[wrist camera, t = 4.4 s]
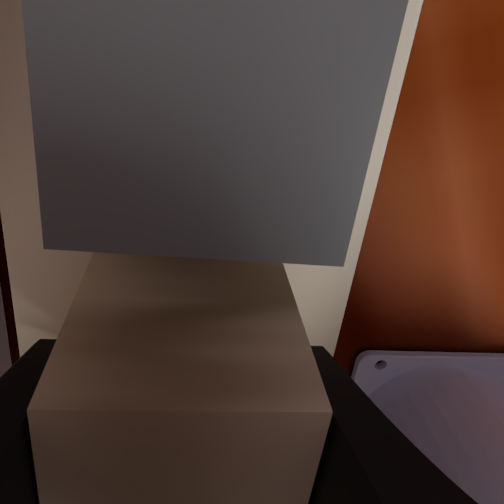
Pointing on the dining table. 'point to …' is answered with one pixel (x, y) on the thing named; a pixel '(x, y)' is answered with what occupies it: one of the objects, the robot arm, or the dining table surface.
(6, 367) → the dock
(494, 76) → the dining table surface
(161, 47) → the grey cube
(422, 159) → the dining table surface
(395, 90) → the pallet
